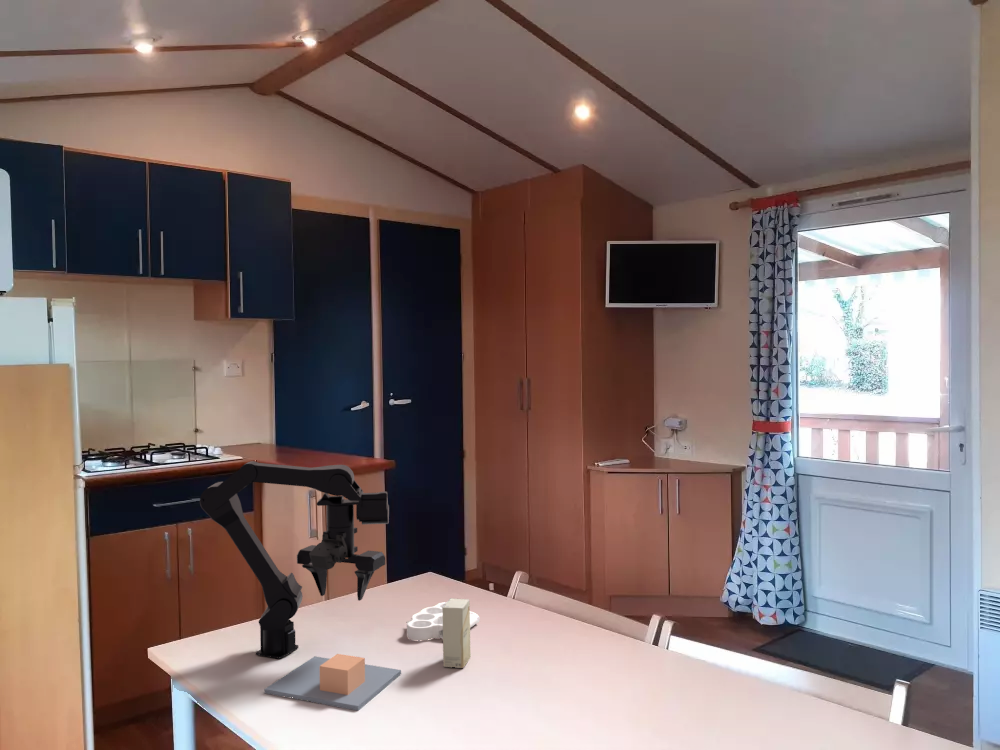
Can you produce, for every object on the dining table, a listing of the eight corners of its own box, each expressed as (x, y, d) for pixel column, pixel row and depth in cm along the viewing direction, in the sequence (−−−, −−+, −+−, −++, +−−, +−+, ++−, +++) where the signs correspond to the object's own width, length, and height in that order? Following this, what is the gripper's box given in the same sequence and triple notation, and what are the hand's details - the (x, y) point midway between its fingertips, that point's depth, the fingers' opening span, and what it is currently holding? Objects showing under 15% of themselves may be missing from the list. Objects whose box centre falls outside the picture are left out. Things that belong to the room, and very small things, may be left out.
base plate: (264, 693, 138) (264, 673, 138) (314, 660, 153) (314, 641, 153) (358, 710, 131) (357, 689, 131) (401, 674, 146) (400, 654, 146)
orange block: (319, 690, 138) (319, 666, 137) (337, 676, 143) (337, 653, 143) (347, 695, 135) (347, 670, 135) (364, 681, 141) (364, 658, 141)
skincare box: (463, 669, 148) (463, 608, 148) (442, 667, 149) (441, 607, 149) (471, 656, 154) (470, 598, 154) (450, 655, 155) (450, 597, 155)
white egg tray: (449, 649, 160) (391, 638, 166) (485, 621, 176) (431, 612, 182) (449, 633, 160) (391, 623, 166) (485, 607, 176) (431, 599, 182)
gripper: (280, 530, 154) (281, 604, 154) (358, 537, 147) (359, 615, 148) (311, 519, 164) (312, 589, 165) (386, 525, 158) (386, 598, 158)
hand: (341, 597), depth 159 cm, fingers open, 9 cm apart
